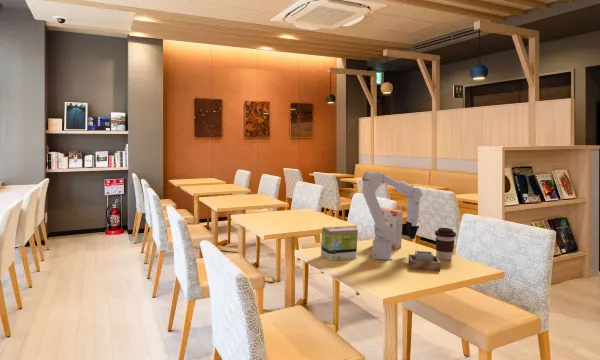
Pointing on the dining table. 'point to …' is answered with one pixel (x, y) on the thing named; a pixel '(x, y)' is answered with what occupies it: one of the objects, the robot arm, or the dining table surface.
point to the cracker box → (394, 225)
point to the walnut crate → (424, 264)
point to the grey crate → (423, 256)
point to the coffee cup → (444, 243)
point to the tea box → (339, 243)
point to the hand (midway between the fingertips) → (411, 237)
